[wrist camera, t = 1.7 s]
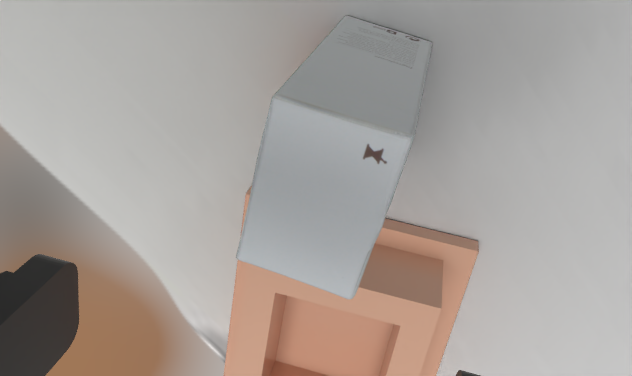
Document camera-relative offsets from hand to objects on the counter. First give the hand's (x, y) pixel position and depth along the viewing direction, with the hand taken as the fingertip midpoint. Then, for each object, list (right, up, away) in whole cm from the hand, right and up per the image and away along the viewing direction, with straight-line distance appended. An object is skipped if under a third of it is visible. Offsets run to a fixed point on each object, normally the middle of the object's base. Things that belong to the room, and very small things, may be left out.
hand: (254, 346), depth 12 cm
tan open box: (+3, -4, +22) cm, 22 cm away
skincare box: (+4, +8, +16) cm, 19 cm away
